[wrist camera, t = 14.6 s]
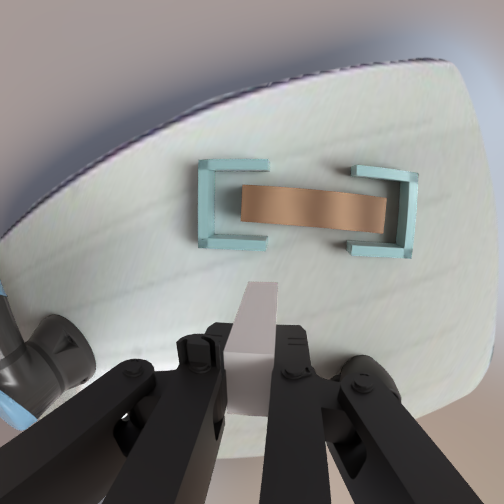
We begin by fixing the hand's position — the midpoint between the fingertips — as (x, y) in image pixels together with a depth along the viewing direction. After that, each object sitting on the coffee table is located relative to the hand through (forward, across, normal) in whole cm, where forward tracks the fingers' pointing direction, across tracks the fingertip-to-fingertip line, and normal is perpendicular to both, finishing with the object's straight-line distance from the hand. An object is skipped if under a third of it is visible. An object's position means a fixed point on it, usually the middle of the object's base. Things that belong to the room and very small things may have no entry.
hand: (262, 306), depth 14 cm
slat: (+21, +5, +4) cm, 22 cm away
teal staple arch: (+21, -5, +4) cm, 22 cm away
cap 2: (+21, +13, +4) cm, 25 cm away
